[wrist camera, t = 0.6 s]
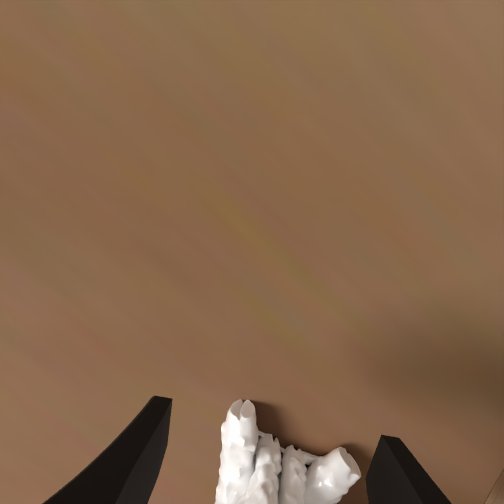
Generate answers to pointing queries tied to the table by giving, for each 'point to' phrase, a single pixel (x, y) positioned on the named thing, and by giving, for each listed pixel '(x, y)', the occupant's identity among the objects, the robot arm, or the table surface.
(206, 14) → the table surface
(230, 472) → the sitting furry creature
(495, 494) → the slot block
